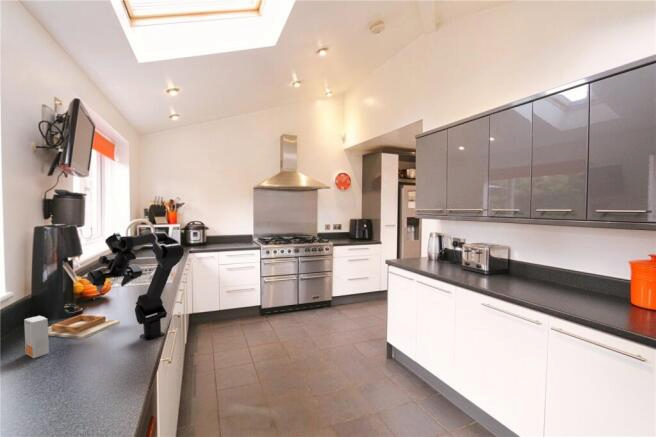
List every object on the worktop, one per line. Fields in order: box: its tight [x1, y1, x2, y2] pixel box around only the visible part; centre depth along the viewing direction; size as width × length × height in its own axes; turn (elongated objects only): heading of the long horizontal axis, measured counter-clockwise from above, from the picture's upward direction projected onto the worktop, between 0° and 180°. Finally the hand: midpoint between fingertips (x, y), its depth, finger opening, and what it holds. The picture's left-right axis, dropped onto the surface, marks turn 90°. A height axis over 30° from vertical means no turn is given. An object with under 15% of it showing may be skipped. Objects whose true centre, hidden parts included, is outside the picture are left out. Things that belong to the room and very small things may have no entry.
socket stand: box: [48, 313, 121, 340], centre depth 125 cm, size 22×16×3 cm
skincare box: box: [23, 315, 50, 359], centre depth 104 cm, size 6×4×12 cm
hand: (110, 288), depth 131 cm, fingers open, 9 cm apart
